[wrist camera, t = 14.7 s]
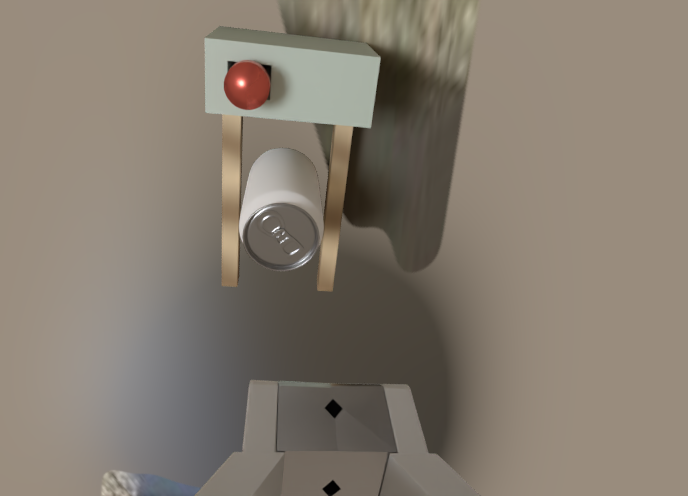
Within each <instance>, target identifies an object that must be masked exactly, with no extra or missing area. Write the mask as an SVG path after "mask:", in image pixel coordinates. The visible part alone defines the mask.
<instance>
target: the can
mask: <svg viewBox="0 0 688 496" xmlns="http://www.w3.org/2000/svg"><path fill="white" fill-rule="evenodd" d="M323 231H324V221H323V212H322V204H321V195H320V187H319V181H318V175H317V171H316V169H315V167H314V165H313V163H312V162H311V161H310V160H309V158H307V157H306V156H305V155H304V154H302V153H300V152H299V151H296V150H293V149H289V148H276V149H271V150H269V151H267V152H265V153H263V154H262V155H261V156H260V157H259V158H258V159H257V160H256V161H255V162H254V164H253V165H252V167H251V170H250V173H249V176H248V181H247V185H246V190H245V194H244V199H243V204H242V209H241V214H240V220H239V233H240V237H241V240H242V242H243V245H244V248H245V250H246V252H247V254H248V255H249V256H250V258H251V259H252V260H253V261H254V262H256V263H257V264H258V265H260V266H262V267H264V268H267V269H269V270H274V271H290V270H294V269H297V268H299V267H301V266H303V265H304V264H306V263H307V262H308V261H309V260H310V259H311V258H312V257H313V256H314V254H315V253H316V251H317V248H318V246H319V244H320V243H321V240H322V237H323Z"/></svg>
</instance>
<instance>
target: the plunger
mask: <svg viewBox="0 0 688 496" xmlns="http://www.w3.org/2000/svg"><path fill="white" fill-rule="evenodd" d="M224 91H225V94H226V96H227V98H228V100H229V101H230V102H231V103H232V104H233V105H234V106H236V107H238V108H240V109H244V110H253V109H256V108H258V107H260V106H261V105H263V104H264V103H265V101H266V100H267V98H268V96H269V91H270V77H269V75H268V72H267V71H266V67H265V65H263V64H259V63H257V62H255V61H252V60H242V61H239V62H237V63H235V64H234V65H233V66H232V67H231V68H230V69H229V71H228V72H227V74H226V76H225V79H224Z"/></svg>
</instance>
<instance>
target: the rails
mask: <svg viewBox="0 0 688 496" xmlns="http://www.w3.org/2000/svg"><path fill="white" fill-rule="evenodd" d="M242 129H243V116H235V115H225V114H223V139H222V140H223V141H222V142H223V143H222V156H223V157H222V286H234V287H237V285H238V278H239V257H240V233H239V220H240V214H241V173H242ZM352 132H353V126H343V125H333V135H332V144H331V153H330V163H329V172H328V182H327V191H326V200H325V209H324V219H323V221H324V231H323V237H322V240H321V247H320V256H319V265H318V276H317V287H318V291H332V290H333V283H334V275H335V267H336V259H337V251H338V243H339V235H340V227H341V219H342V211H343V203H344V195H345V188H346V180H347V172H348V164H349V156H350V148H351V140H352Z"/></svg>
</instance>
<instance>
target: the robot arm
mask: <svg viewBox="0 0 688 496" xmlns="http://www.w3.org/2000/svg"><path fill="white" fill-rule="evenodd" d="M195 496H480V495H479V494H478V493H477V492H476V491H475V490H474V489H473V488H472V487H471V486H470V485H469V484H468V483H467V482H466V481H465V480H463V478H462V477H460V476H459V475H458V474H457V473H456V472H455V471H454V470H453V469H452V468H451V467H450V466H449V465H448V464H447V463H446V462H445V461H444V460H442V459H441V458H440V457H439V456H438V455H437V454H429V453H428V450H427V446H426V442H425V439H424V435H423V432H422V429H421V425H420V422H419V418H418V415H417V411H416V408H415V404H414V401H413V397H412V394H411V391H410V388H409V387H408V385H407V384H381V385H380V384H342V383H341V384H340V383H339V384H338V383H329V384H328V383H310V382H291V381H278V382H277V381H261V380H251V381H250V385H249V391H248V402H247V411H246V421H245V430H244V440H243V450H242V452H233V453H232V455H231V456H230V457H229V458H228V459H227V460H226V461H225V462H224V464H223V465H222V466H221V467H220V468H219V469H218V470H217V471H216V472H215V473H214V475H213V476H212V477H211V478H210V479H209V480H208V481H207V482H206V484H205V485H204V486H203V487H202V488H201V489H200V490H199V491H198V492H197V494H196V495H195Z"/></svg>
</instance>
